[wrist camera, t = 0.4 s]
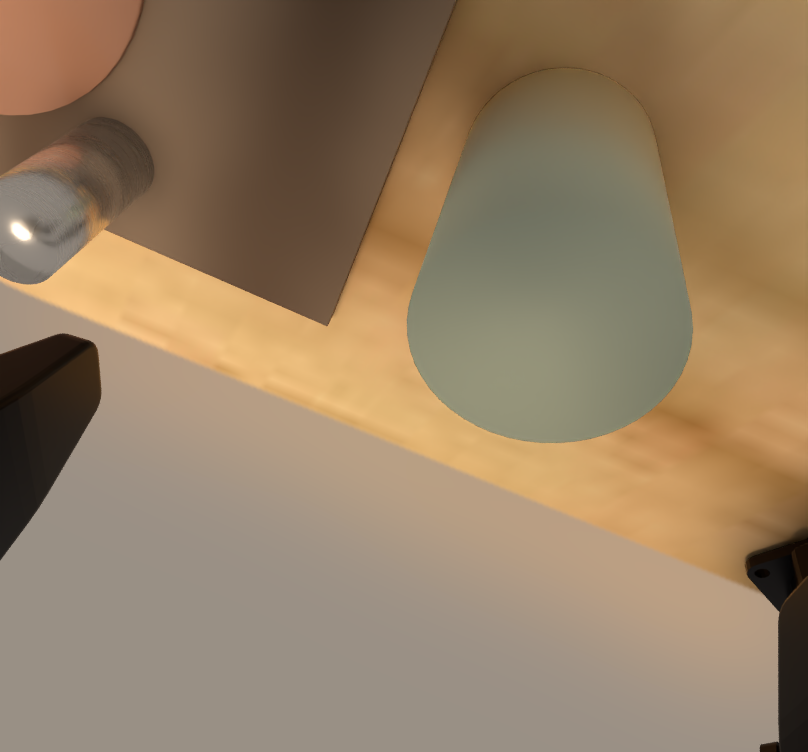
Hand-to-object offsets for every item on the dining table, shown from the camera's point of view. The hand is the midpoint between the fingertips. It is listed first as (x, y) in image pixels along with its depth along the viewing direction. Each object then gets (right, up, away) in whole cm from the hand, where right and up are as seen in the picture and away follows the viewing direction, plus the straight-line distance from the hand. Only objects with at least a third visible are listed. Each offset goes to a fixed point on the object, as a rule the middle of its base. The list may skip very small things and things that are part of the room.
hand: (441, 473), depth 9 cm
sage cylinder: (+4, +7, +10) cm, 13 cm away
